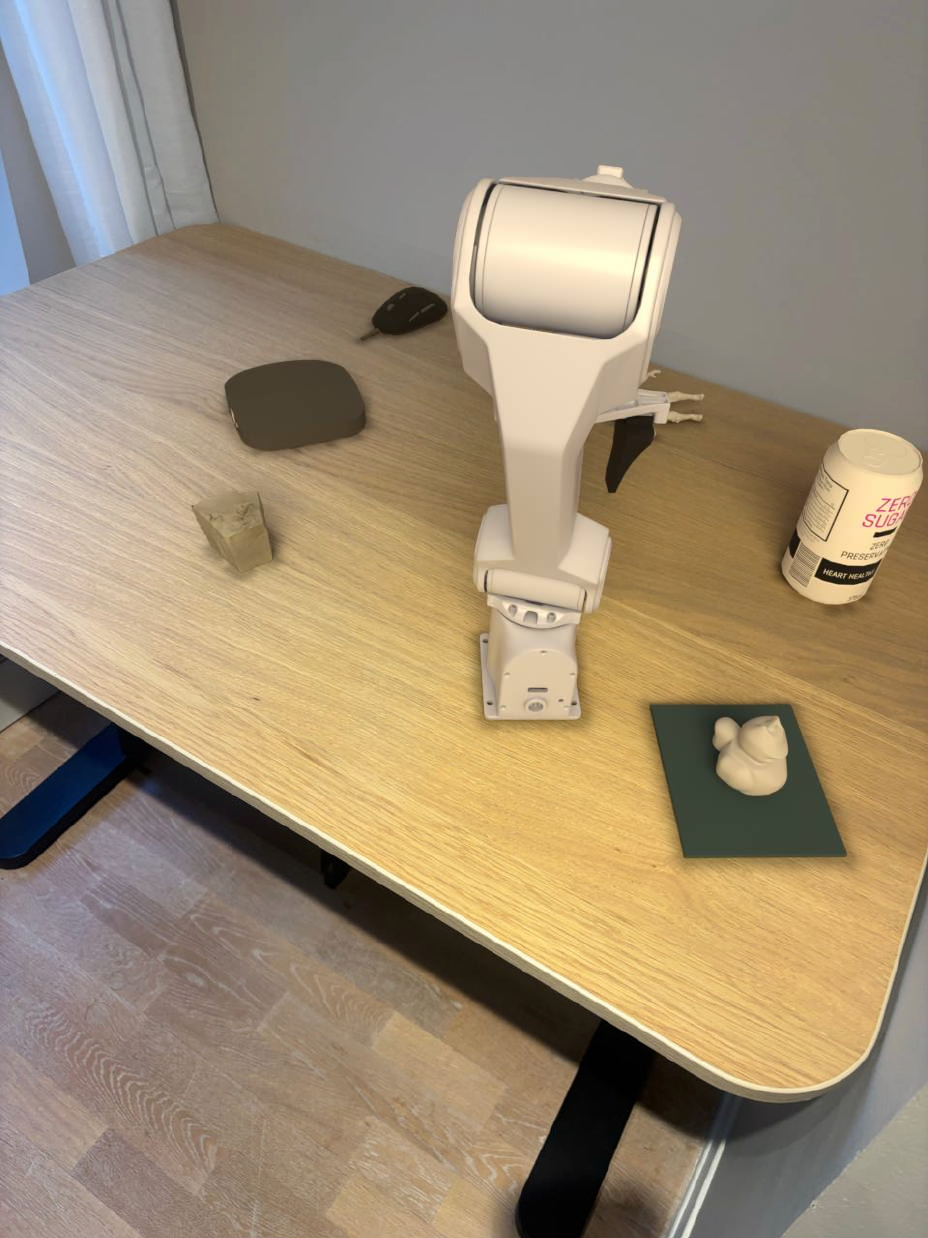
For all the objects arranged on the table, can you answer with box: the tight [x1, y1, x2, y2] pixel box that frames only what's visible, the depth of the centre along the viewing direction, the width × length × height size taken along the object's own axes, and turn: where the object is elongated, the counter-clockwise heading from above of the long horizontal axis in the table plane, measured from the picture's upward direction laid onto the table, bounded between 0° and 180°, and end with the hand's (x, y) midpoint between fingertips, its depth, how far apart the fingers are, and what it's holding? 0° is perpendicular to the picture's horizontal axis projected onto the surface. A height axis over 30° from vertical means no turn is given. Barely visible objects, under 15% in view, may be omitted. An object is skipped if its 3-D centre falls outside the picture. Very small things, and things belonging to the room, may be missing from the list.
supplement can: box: [780, 428, 924, 605], centre depth 80 cm, size 8×8×15 cm
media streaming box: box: [223, 359, 366, 451], centre depth 101 cm, size 15×15×3 cm
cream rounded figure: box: [712, 716, 788, 796], centre depth 65 cm, size 5×7×8 cm
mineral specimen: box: [191, 489, 273, 574], centre depth 81 cm, size 7×9×8 cm
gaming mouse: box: [360, 285, 449, 341], centre depth 118 cm, size 6×15×4 cm, turn 136°
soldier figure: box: [638, 369, 705, 437], centre depth 103 cm, size 8×5×12 cm
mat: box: [649, 704, 848, 859], centre depth 68 cm, size 14×12×1 cm
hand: (568, 485), depth 79 cm, fingers open, 7 cm apart
